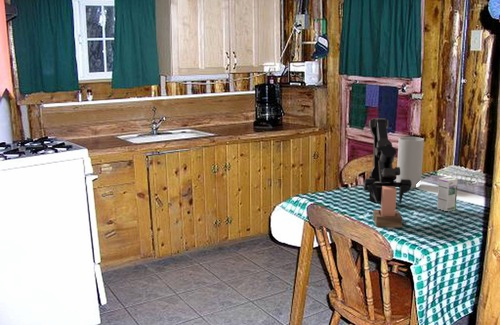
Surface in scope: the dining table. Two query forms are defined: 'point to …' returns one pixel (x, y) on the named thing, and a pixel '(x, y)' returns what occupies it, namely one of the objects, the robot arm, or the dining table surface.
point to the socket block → (387, 219)
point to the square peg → (388, 201)
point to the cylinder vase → (410, 159)
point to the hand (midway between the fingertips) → (388, 202)
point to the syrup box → (447, 193)
